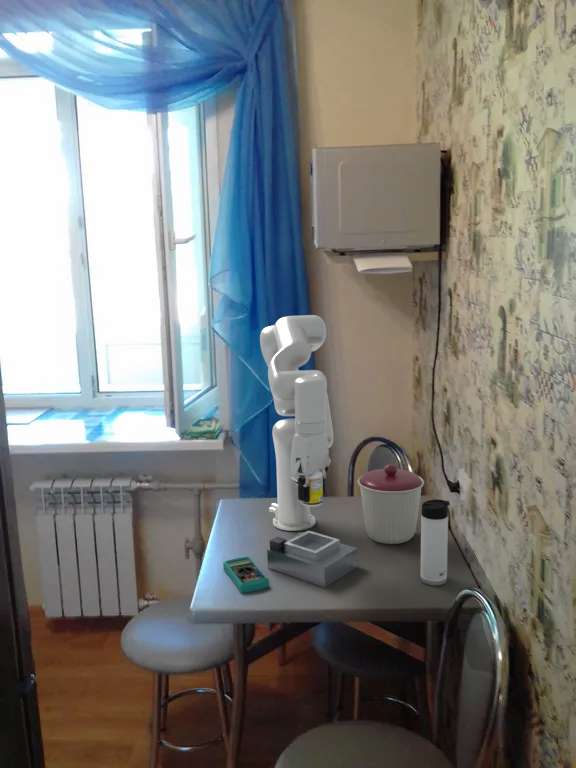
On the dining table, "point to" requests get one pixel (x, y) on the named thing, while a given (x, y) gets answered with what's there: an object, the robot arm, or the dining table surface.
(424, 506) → the travel mug
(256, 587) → the digital multimeter
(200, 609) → the dining table surface
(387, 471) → the canister
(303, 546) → the grey square socket fixture
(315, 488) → the supplement bottle
